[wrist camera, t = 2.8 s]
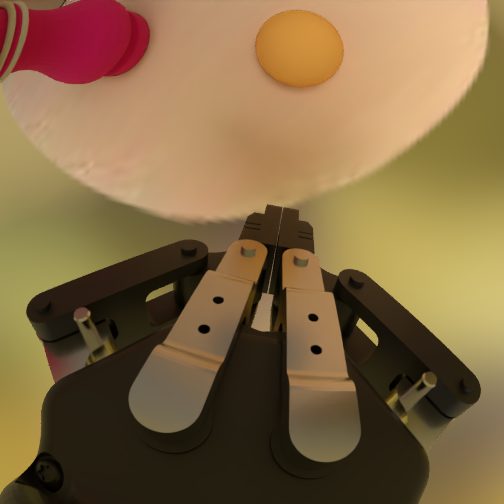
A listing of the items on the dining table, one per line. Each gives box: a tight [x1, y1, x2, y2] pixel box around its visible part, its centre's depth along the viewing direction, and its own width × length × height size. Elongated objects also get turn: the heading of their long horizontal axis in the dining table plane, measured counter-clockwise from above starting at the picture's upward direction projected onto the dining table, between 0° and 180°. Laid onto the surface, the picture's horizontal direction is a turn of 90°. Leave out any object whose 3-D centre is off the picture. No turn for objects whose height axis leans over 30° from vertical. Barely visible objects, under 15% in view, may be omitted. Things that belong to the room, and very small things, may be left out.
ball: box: [255, 10, 344, 87], centre depth 13 cm, size 6×6×6 cm
